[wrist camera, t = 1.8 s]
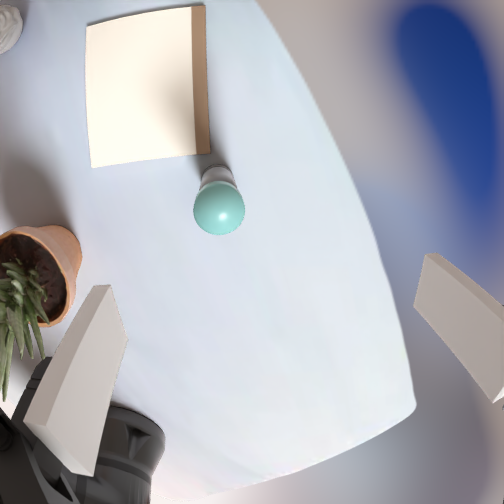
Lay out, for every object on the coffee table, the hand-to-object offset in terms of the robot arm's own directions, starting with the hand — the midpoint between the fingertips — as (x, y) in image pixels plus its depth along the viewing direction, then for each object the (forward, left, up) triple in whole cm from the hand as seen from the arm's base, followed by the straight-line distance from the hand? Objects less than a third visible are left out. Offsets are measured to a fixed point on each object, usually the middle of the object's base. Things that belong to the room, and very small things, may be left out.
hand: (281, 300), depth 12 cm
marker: (-2, +1, -17) cm, 18 cm away
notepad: (-8, +11, -17) cm, 22 cm away
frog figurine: (-23, +20, -18) cm, 36 cm away
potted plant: (-20, -4, -18) cm, 27 cm away
